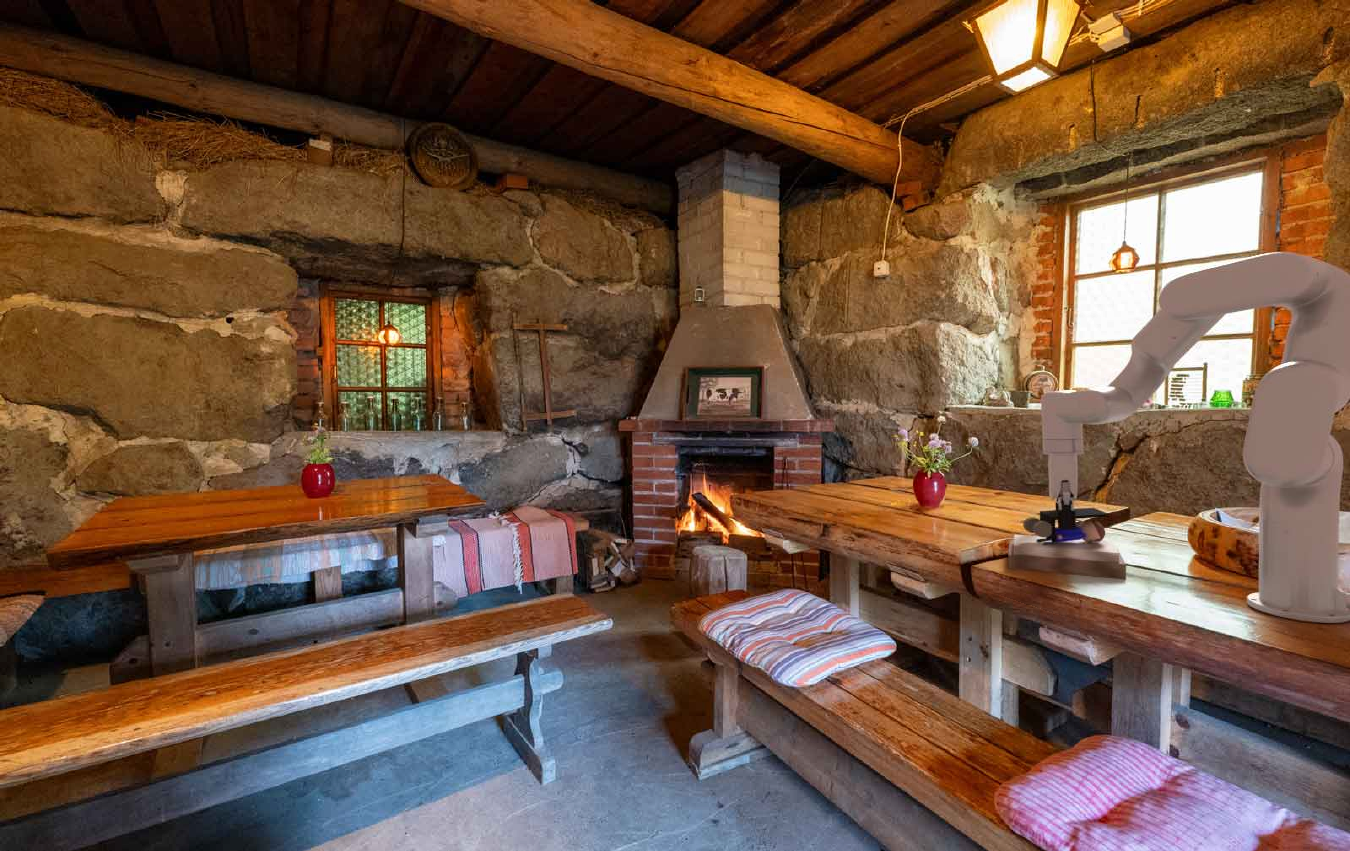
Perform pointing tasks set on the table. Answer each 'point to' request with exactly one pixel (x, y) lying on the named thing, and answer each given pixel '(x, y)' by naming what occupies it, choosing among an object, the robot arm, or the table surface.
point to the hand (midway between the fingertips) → (1065, 524)
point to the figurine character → (1085, 531)
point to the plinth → (1067, 565)
